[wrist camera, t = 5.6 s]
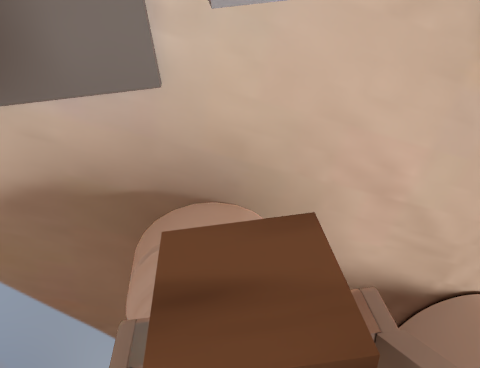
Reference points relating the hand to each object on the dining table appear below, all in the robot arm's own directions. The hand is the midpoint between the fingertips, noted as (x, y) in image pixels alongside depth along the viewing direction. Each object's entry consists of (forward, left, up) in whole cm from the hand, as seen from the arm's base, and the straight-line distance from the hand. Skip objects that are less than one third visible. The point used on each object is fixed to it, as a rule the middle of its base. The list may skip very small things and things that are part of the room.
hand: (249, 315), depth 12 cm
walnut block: (0, 0, -2) cm, 2 cm away
